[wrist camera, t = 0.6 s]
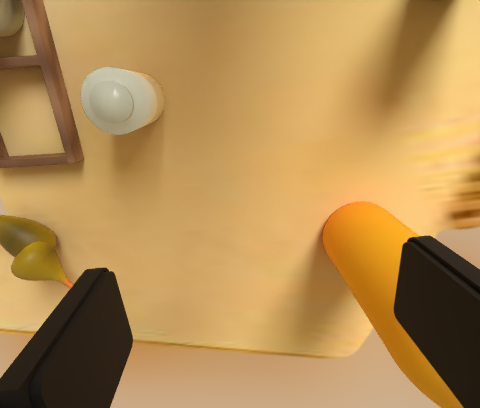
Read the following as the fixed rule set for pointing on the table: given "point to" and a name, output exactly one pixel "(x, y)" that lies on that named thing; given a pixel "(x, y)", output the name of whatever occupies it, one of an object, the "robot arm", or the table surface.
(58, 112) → the walnut tray
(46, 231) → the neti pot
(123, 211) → the table surface
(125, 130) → the celadon canister
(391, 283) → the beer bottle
